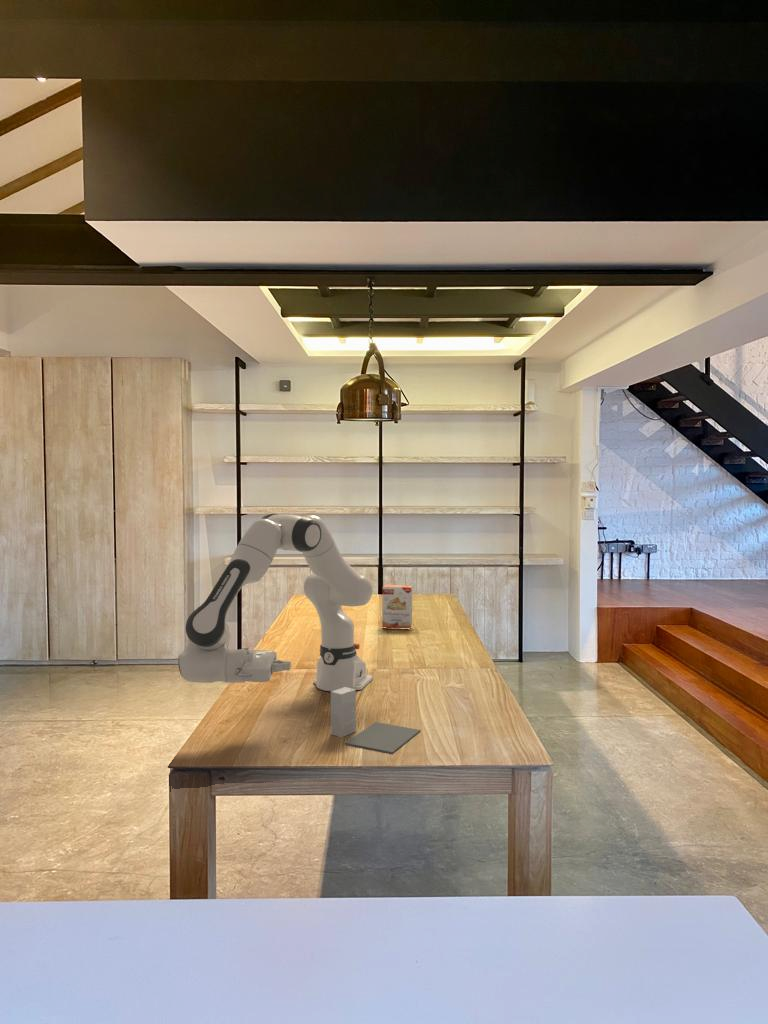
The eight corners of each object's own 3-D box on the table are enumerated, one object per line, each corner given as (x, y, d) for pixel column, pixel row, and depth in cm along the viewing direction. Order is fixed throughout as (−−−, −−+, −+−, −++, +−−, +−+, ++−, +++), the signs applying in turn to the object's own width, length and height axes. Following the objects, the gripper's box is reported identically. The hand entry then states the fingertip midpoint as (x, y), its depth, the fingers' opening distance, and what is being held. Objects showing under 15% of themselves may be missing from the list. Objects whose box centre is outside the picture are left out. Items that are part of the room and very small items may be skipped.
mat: (375, 723, 195) (375, 722, 195) (420, 731, 189) (420, 729, 189) (344, 744, 179) (344, 742, 179) (392, 753, 173) (392, 752, 173)
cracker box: (381, 629, 327) (382, 586, 327) (384, 626, 333) (384, 584, 333) (410, 630, 325) (410, 587, 324) (412, 628, 331) (412, 585, 330)
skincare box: (345, 728, 191) (345, 686, 191) (356, 731, 188) (356, 689, 188) (330, 734, 186) (330, 691, 186) (341, 738, 184) (341, 694, 183)
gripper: (233, 664, 174) (287, 663, 175) (244, 646, 195) (293, 646, 196) (233, 688, 175) (287, 687, 175) (244, 668, 195) (292, 668, 196)
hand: (290, 665), depth 186 cm, fingers closed
